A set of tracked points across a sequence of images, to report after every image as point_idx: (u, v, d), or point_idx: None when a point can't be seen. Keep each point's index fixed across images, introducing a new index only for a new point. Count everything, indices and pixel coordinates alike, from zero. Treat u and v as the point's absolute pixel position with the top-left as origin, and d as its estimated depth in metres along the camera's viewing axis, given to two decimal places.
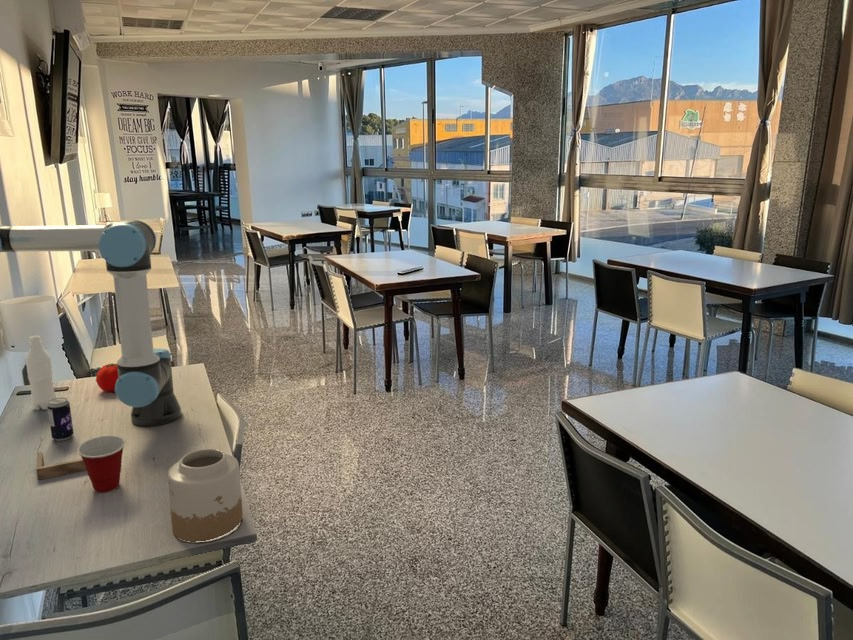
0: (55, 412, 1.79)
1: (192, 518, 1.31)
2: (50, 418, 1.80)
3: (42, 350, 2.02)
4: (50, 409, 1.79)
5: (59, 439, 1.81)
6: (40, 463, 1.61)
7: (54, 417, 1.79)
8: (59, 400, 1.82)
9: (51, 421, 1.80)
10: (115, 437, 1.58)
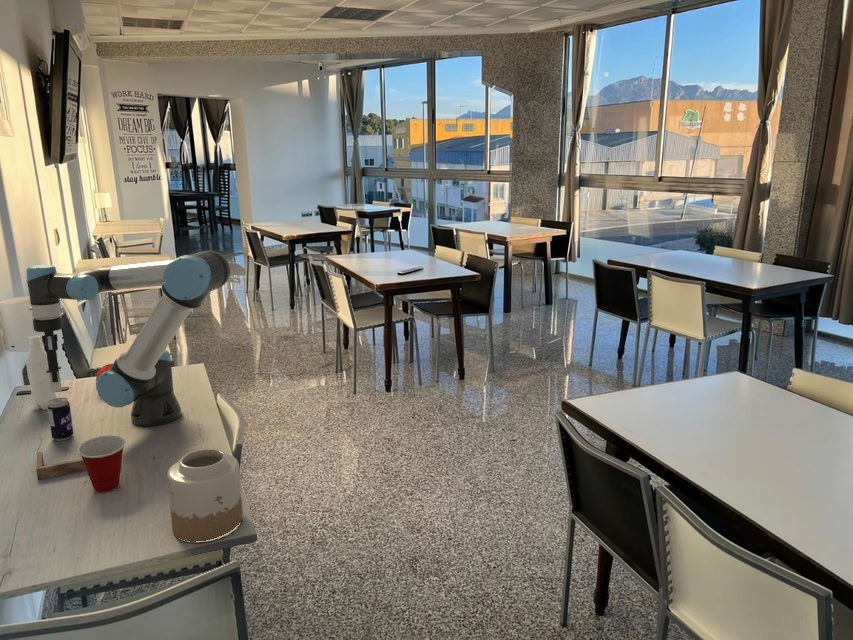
0: (55, 412, 1.79)
1: (192, 518, 1.31)
2: (50, 418, 1.80)
3: (42, 350, 2.02)
4: (50, 409, 1.79)
5: (59, 439, 1.81)
6: (40, 463, 1.61)
7: (54, 417, 1.79)
8: (59, 400, 1.82)
9: (51, 421, 1.80)
10: (115, 437, 1.58)
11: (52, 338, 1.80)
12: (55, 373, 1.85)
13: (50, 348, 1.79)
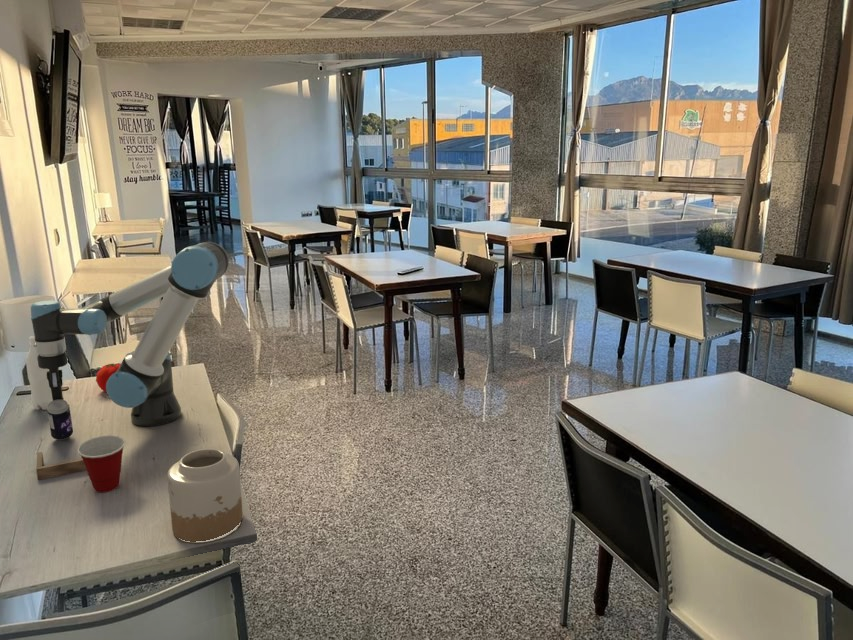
0: (55, 417, 1.76)
1: (192, 518, 1.31)
2: (50, 421, 1.77)
3: None
4: (50, 414, 1.76)
5: (59, 439, 1.81)
6: (40, 463, 1.61)
7: (54, 422, 1.77)
8: (59, 404, 1.78)
9: (51, 424, 1.78)
10: (115, 437, 1.58)
11: (57, 375, 1.78)
12: None
13: (55, 385, 1.77)
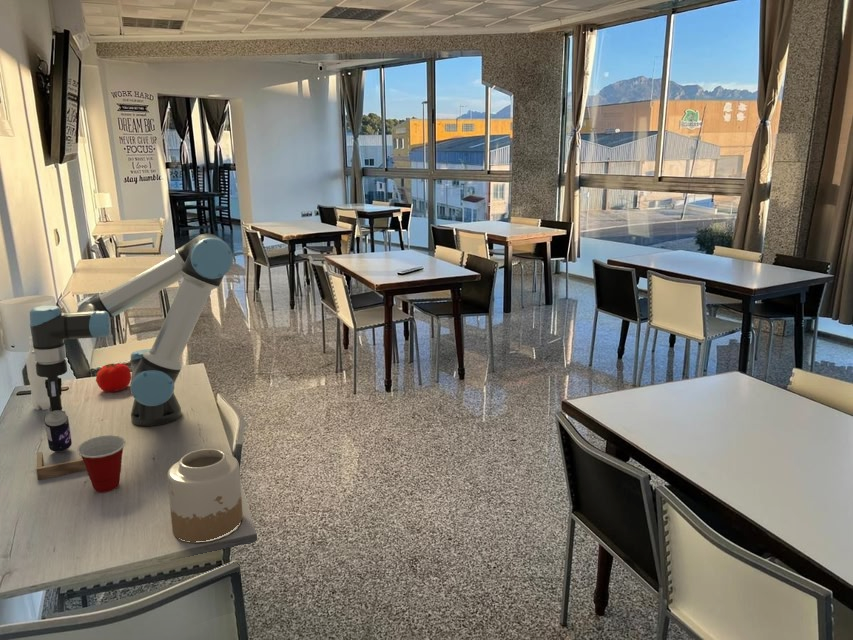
0: (53, 429, 1.68)
1: (192, 518, 1.31)
2: (47, 433, 1.70)
3: None
4: (48, 426, 1.68)
5: (57, 451, 1.73)
6: (40, 463, 1.61)
7: (52, 433, 1.69)
8: (57, 415, 1.70)
9: (48, 436, 1.70)
10: (115, 437, 1.58)
11: (56, 384, 1.70)
12: None
13: (53, 395, 1.69)
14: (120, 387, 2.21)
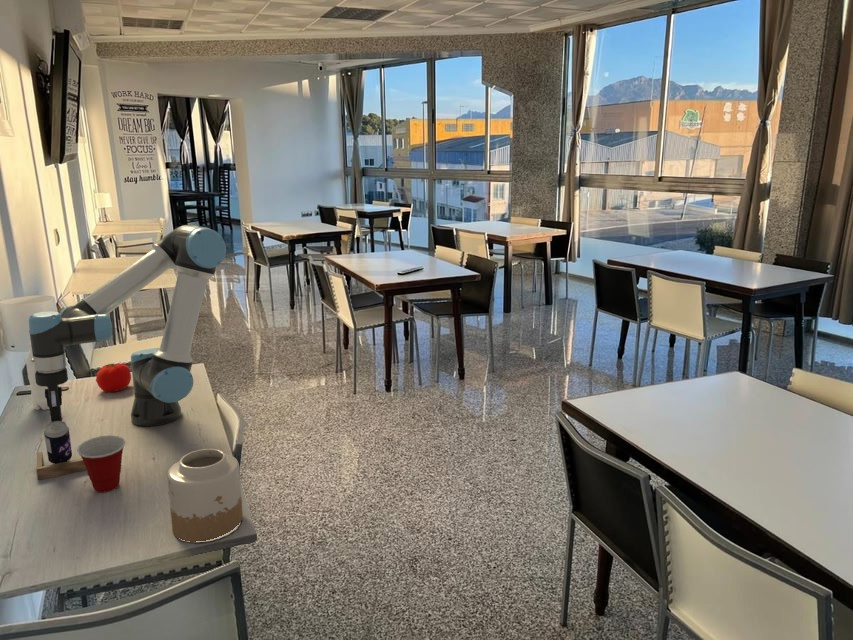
0: (53, 441, 1.61)
1: (192, 518, 1.31)
2: (47, 445, 1.62)
3: None
4: (47, 438, 1.61)
5: None
6: (40, 463, 1.61)
7: (52, 445, 1.62)
8: (57, 426, 1.63)
9: (48, 448, 1.63)
10: (115, 437, 1.58)
11: (56, 393, 1.63)
12: None
13: (54, 405, 1.62)
14: (120, 387, 2.21)
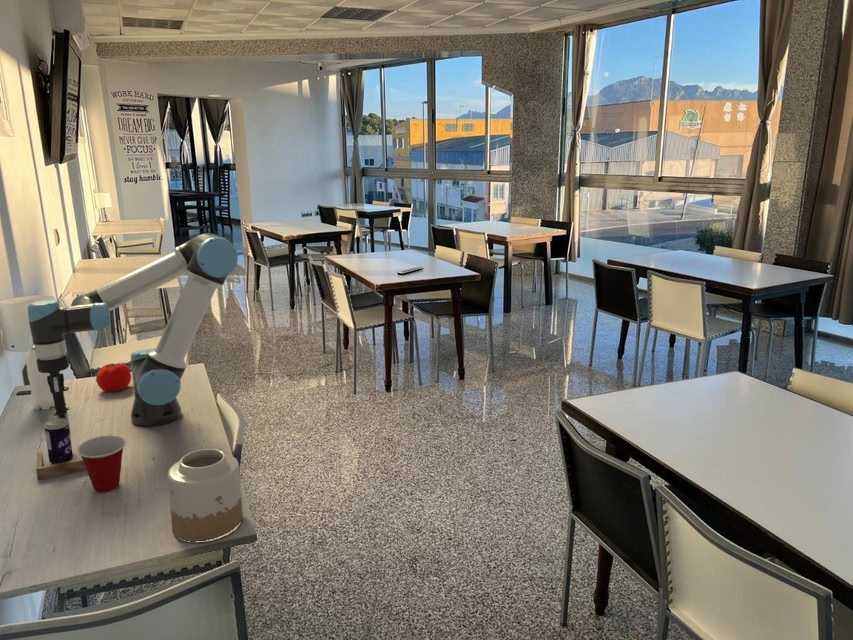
0: (52, 434, 1.64)
1: (192, 518, 1.31)
2: (47, 441, 1.65)
3: None
4: (47, 431, 1.64)
5: None
6: (40, 463, 1.61)
7: (51, 440, 1.64)
8: (57, 421, 1.66)
9: (48, 444, 1.65)
10: (115, 437, 1.58)
11: (58, 379, 1.68)
12: (63, 415, 1.72)
13: (56, 390, 1.66)
14: (120, 387, 2.21)
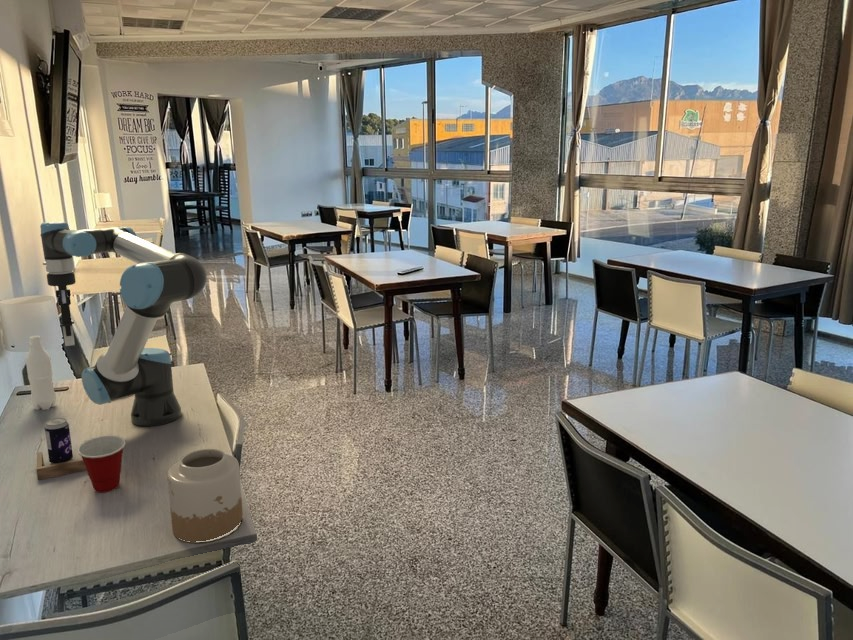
0: (52, 434, 1.64)
1: (192, 518, 1.31)
2: (47, 441, 1.65)
3: (42, 350, 2.02)
4: (47, 431, 1.64)
5: None
6: (40, 463, 1.61)
7: (51, 439, 1.64)
8: (57, 421, 1.67)
9: (48, 444, 1.65)
10: (115, 437, 1.58)
11: (65, 292, 1.87)
12: (68, 327, 1.91)
13: (64, 301, 1.86)
14: None
